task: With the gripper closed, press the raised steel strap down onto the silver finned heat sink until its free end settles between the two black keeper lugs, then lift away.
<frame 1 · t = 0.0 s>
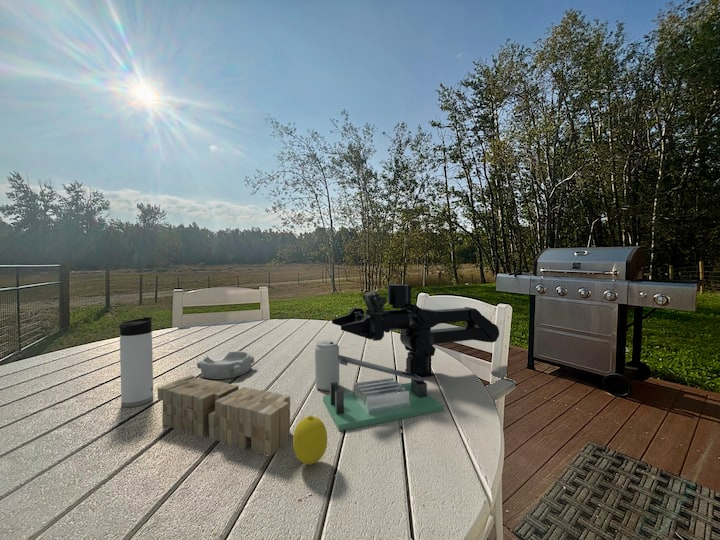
hand: (336, 324, 82), 17 cm above the table, tool horizontal, fingers open, 9 cm apart
strap: (381, 369, 70), point 8 cm above the table, hinge at 20.0°
beverage can: (327, 387, 82), on the table
lemon: (310, 465, 50), on the table
travel mug: (138, 402, 74), on the table
block tower: (225, 431, 61), on the table
dish: (227, 373, 94), on the table
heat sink: (380, 390, 70), on the circuit board, point 4 cm above the table
circuit board: (380, 405, 70), on the table
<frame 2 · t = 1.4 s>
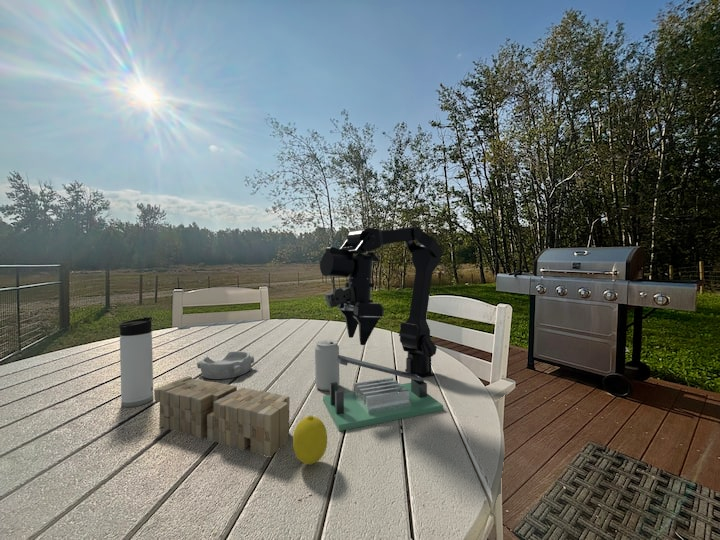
hand: (356, 341, 76), 14 cm above the table, tool pointing down, fingers open, 9 cm apart
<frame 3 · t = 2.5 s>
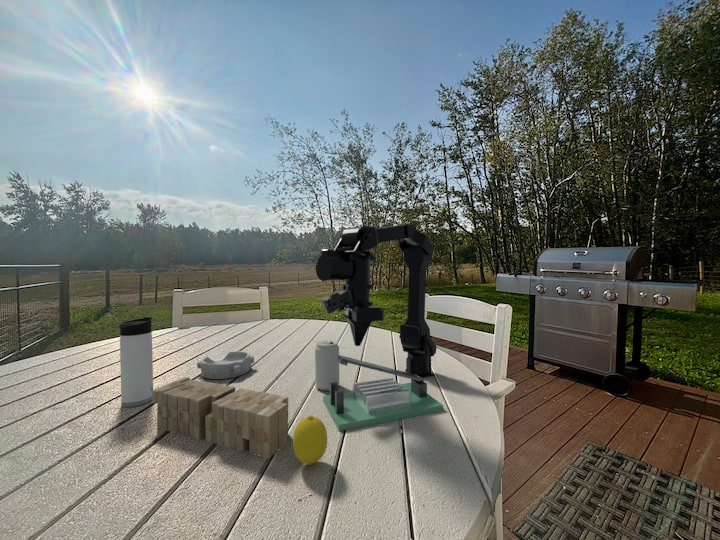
hand: (357, 345, 72), 13 cm above the table, tool pointing down, fingers closed
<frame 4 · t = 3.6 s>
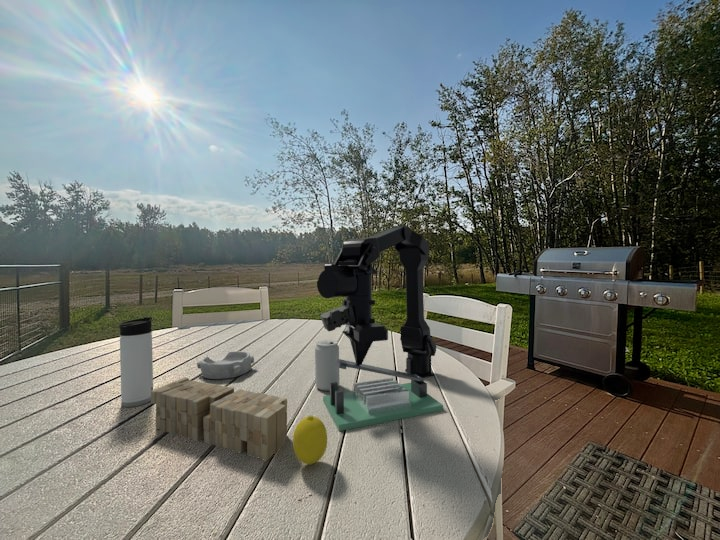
hand: (359, 364, 69), 10 cm above the table, tool pointing down, fingers closed, pressing on strap
strap: (381, 371, 70), point 8 cm above the table, hinge at 17.5°, touching gripper
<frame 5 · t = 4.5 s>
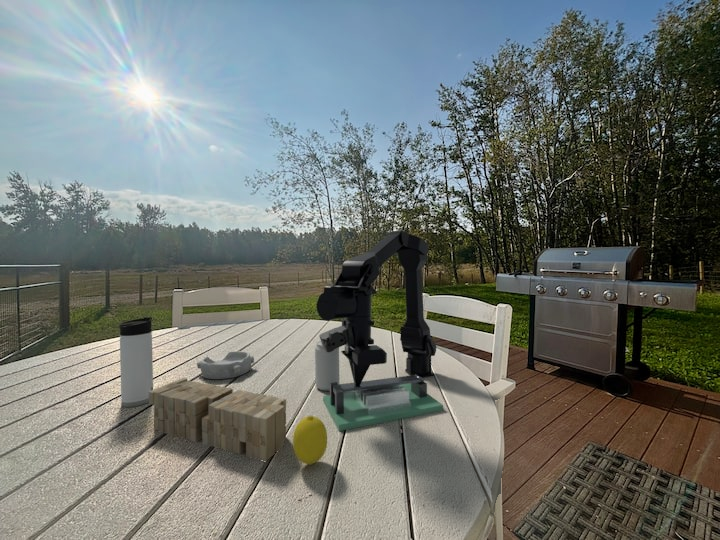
hand: (357, 384, 68), 6 cm above the table, tool pointing down, fingers closed, pressing on strap
strap: (379, 384, 70), point 5 cm above the table, hinge at 1.3°, touching gripper
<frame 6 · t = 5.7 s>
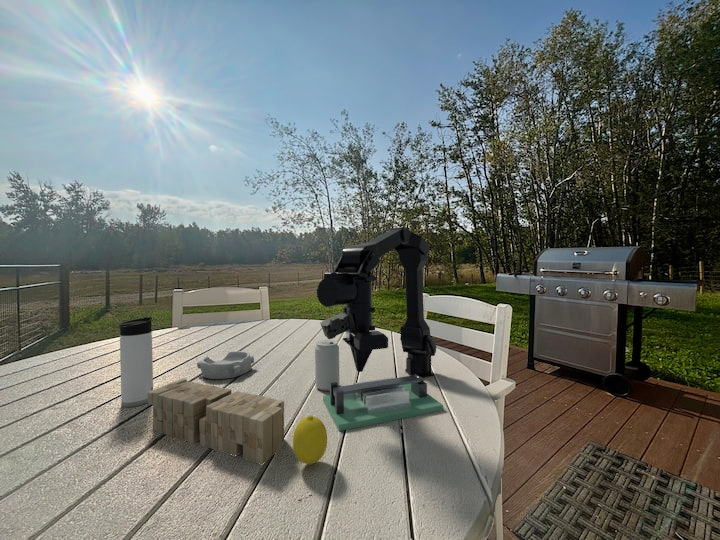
hand: (359, 371, 69), 9 cm above the table, tool pointing down, fingers closed
strap: (379, 385, 70), point 5 cm above the table, hinge at -0.3°
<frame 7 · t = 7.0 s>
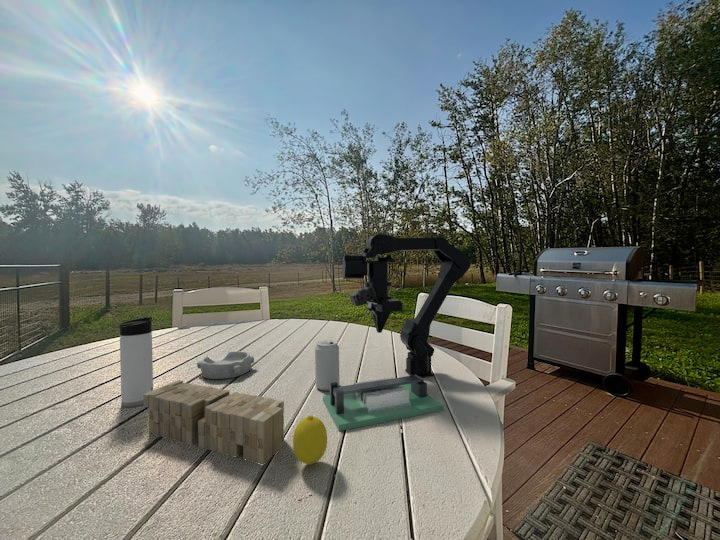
hand: (379, 332, 88), 13 cm above the table, tool pointing down, fingers closed
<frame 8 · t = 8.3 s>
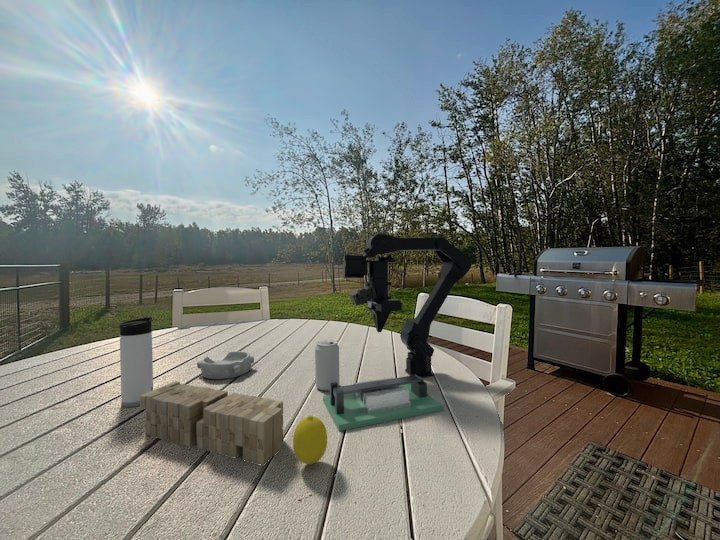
hand: (379, 332, 89), 13 cm above the table, tool pointing down, fingers closed
at the end: strap at +0° (first picture: +20°); the gripper is holding nothing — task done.
